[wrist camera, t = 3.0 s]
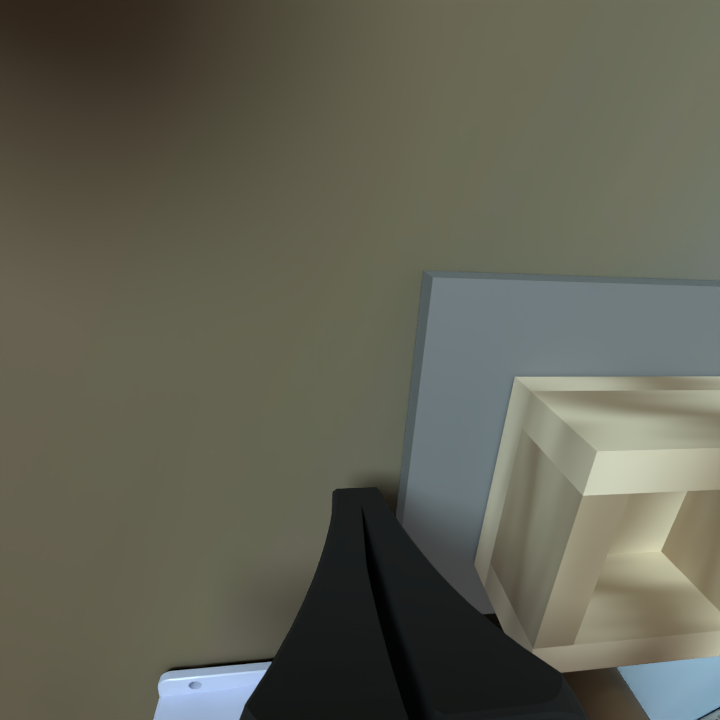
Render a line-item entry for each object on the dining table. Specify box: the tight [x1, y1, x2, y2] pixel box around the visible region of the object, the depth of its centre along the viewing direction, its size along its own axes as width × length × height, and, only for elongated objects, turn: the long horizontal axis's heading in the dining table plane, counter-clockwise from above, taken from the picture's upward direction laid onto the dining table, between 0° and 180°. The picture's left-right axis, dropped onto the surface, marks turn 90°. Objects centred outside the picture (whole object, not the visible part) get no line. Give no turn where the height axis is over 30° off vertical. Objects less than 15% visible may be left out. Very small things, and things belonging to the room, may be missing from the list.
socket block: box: [474, 376, 720, 673], centre depth 13 cm, size 8×8×4 cm
